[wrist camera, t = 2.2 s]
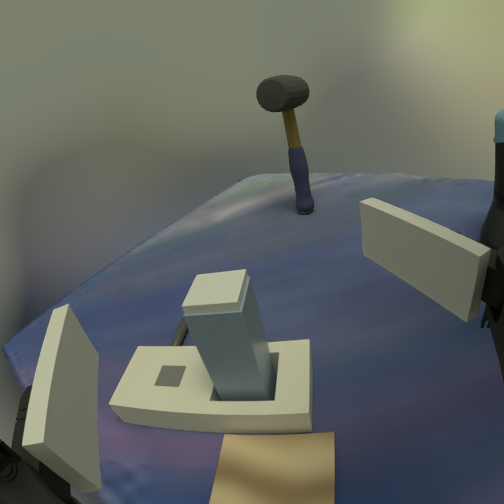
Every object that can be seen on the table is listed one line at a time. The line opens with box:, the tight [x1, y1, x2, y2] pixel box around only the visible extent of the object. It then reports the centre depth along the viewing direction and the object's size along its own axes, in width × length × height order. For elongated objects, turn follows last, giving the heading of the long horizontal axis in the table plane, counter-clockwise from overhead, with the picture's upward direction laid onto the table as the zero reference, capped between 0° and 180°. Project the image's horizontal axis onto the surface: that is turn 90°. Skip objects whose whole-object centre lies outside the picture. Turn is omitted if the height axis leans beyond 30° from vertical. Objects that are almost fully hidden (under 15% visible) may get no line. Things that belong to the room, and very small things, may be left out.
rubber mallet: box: [256, 75, 314, 214], centre depth 63 cm, size 12×8×30 cm, turn 152°
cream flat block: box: [109, 318, 313, 434], centre depth 35 cm, size 19×20×4 cm
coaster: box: [209, 432, 335, 504], centre depth 21 cm, size 10×10×1 cm
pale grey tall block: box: [182, 269, 277, 401], centre depth 27 cm, size 4×4×14 cm
